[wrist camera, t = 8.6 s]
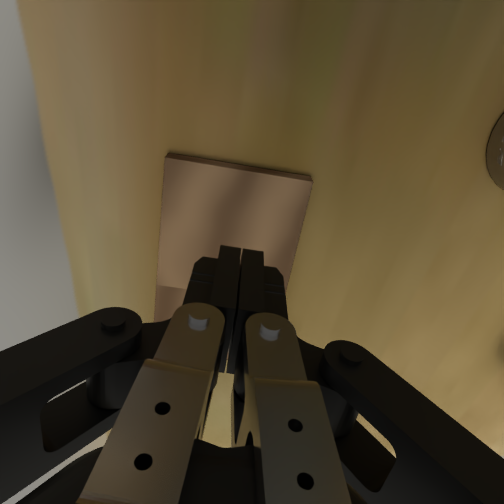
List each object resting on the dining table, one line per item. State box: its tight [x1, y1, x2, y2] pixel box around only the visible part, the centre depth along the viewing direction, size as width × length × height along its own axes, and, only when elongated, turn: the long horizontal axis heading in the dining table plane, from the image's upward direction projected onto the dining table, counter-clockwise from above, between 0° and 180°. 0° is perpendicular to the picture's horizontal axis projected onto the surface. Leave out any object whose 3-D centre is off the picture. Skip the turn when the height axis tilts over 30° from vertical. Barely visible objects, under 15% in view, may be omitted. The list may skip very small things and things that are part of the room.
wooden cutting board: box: [154, 153, 313, 360], centre depth 36 cm, size 12×20×2 cm, turn 170°
